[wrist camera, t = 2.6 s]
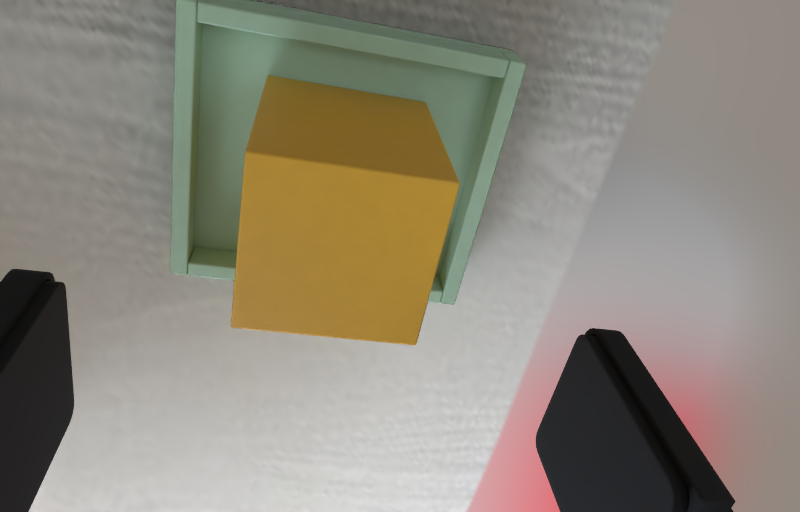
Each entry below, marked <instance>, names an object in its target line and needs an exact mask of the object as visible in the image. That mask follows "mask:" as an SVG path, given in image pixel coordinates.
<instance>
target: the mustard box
mask: <svg viewBox="0 0 800 512" xmlns="http://www.w3.org/2000/svg"><path fill="white" fill-rule="evenodd" d="M459 186H460V182H459V179H458V177H457V175H456V172H455V170H454V168H453V165H452V163H451V160H450V158H449V156H448V153H447V151H446V149H445V146H444V144H443V142H442V139H441V137H440V134H439V132H438V130H437V127H436V125H435V123H434V120H433V118H432V116H431V113H430V111H429V108H428V106H427V104H426V102H422V101H417V100H411V99H405V98H399V97H393V96H387V95H382V94H376V93H370V92H364V91H358V90H352V89H347V88H341V87H335V86H329V85H323V84H317V83H312V82H306V81H300V80H294V79H288V78H282V77H277V76H271V75H268V76H267V79H266V82H265V86H264V89H263V93H262V96H261V99H260V103H259V106H258V110H257V113H256V117H255V120H254V123H253V127H252V130H251V134H250V137H249V141H248V144H247V147H246V151H245V159H244V171H243V183H242V196H241V208H240V220H239V232H238V245H237V257H236V269H235V281H234V294H233V306H232V318H231V327H232V328H240V329H251V330H261V331H271V332H282V333H292V334H303V335H313V336H324V337H334V338H344V339H355V340H365V341H376V342H386V343H397V344H407V345H416V343H417V339H418V336H419V332H420V328H421V325H422V321H423V317H424V314H425V310H426V307H427V303H428V299H429V296H430V292H431V288H432V285H433V281H434V277H435V274H436V270H437V266H438V263H439V259H440V256H441V252H442V248H443V245H444V241H445V237H446V234H447V230H448V226H449V223H450V219H451V215H452V212H453V208H454V205H455V201H456V197H457V194H458V190H459Z"/></svg>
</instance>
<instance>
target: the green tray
mask: <svg viewBox="0 0 800 512" xmlns="http://www.w3.org/2000/svg"><path fill="white" fill-rule="evenodd" d="M525 69H526V63H525V62H524V61H523V60H522V59H521V58H520V57H519V56H518V55H517V54H516V53H515V52H514V51H512V50H508V49H503V48H498V47H492V46H487V45H482V44H477V43H472V42H466V41H461V40H456V39H451V38H446V37H441V36H435V35H430V34H425V33H420V32H415V31H409V30H404V29H399V28H394V27H389V26H383V25H378V24H373V23H368V22H363V21H358V20H352V19H347V18H342V17H337V16H332V15H326V14H321V13H316V12H311V11H306V10H300V9H295V8H290V7H285V6H280V5H274V4H269V3H264V2H259V1H254V0H176V22H175V73H174V124H173V176H172V227H171V273H172V274H179V275H187V274H188V275H189V276H198V277H207V278H216V279H225V280H234V281H235V269H236V257H237V245H238V232H239V220H240V208H241V196H242V183H243V171H244V159H245V151H246V147H247V144H248V141H249V137H250V134H251V130H252V127H253V123H254V120H255V117H256V113H257V110H258V106H259V103H260V99H261V96H262V93H263V89H264V86H265V82H266V79H267V76H268V75H271V76H277V77H282V78H288V79H294V80H300V81H306V82H312V83H317V84H323V85H329V86H335V87H341V88H347V89H352V90H358V91H364V92H370V93H376V94H382V95H387V96H393V97H399V98H405V99H411V100H417V101H422V102H426V104H427V106H428V108H429V111H430V113H431V116H432V118H433V120H434V123H435V125H436V127H437V130H438V132H439V134H440V137H441V139H442V142H443V144H444V146H445V149H446V151H447V153H448V156H449V158H450V160H451V163H452V165H453V168H454V170H455V172H456V175H457V177H458V179H459V182H460V186H459V190H458V194H457V197H456V201H455V205H454V208H453V212H452V215H451V219H450V223H449V226H448V230H447V234H446V237H445V241H444V245H443V248H442V252H441V256H440V259H439V263H438V266H437V270H436V274H435V277H434V281H433V285H432V288H431V292H430V296H429V299H428V302H435V303H440V302H441V303H444V304H455V301H456V297H457V294H458V291H459V287H460V284H461V281H462V278H463V274H464V271H465V268H466V264H467V261H468V258H469V254H470V251H471V248H472V244H473V241H474V238H475V234H476V231H477V228H478V224H479V221H480V218H481V215H482V211H483V208H484V205H485V201H486V198H487V195H488V191H489V188H490V185H491V181H492V178H493V175H494V171H495V168H496V165H497V162H498V158H499V155H500V152H501V148H502V145H503V142H504V138H505V135H506V132H507V128H508V125H509V122H510V118H511V115H512V112H513V108H514V105H515V102H516V99H517V95H518V92H519V89H520V85H521V82H522V79H523V75H524V72H525Z"/></svg>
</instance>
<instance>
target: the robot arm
mask: <svg viewBox="0 0 800 512" xmlns="http://www.w3.org/2000/svg"><path fill="white" fill-rule="evenodd" d="M73 408H74V393H73V379H72V366H71V352H70V339H69V325H68V312H67V298H66V288H65V285H64V283H63V282H55V280H54V277H53V274H52V273H50V272H41V271H32V270H22V269H12V270H10V271H9V272H8V273H7V275H6V276H5V277H4V278H3V280H2V281H1V282H0V512H28V511H29V509H30V507H31V505H32V503H33V501H34V498H35V496H36V494H37V492H38V490H39V488H40V485H41V483H42V481H43V479H44V477H45V475H46V473H47V470H48V468H49V466H50V464H51V462H52V460H53V458H54V455H55V453H56V451H57V449H58V447H59V445H60V443H61V440H62V438H63V436H64V434H65V432H66V430H67V427H68V425H69V423H70V421H71V417H72V414H73ZM536 448H537V451H538V454H539V457H540V459H541V462H542V465H543V467H544V470H545V473H546V475H547V478H548V480H549V483H550V486H551V488H552V491H553V494H554V496H555V499H556V501H557V504H558V506H559V509H560V512H733V510H732V509H731V507H732V506H733V504H734V503H735V500H734V499H733V497H732V496H731V494H730V493H729V491H728V490H727V488H726V487H725V485H724V484H723V482H722V481H721V479H720V478H719V476H718V475H717V473H716V472H715V470H714V469H713V467H712V466H711V465H710V463H709V461H708V460H707V458H706V457H705V456H704V454H703V452H702V451H701V450H700V448H699V446H698V445H697V443H696V442H695V440H694V439H693V438H692V436H691V435H690V433H689V432H688V430H687V429H686V427H685V426H684V424H683V423H682V421H681V420H680V418H679V417H678V415H677V414H676V412H675V411H674V409H673V408H672V406H671V405H670V403H669V402H668V400H667V399H666V397H665V396H664V394H663V393H662V391H661V390H660V388H659V387H658V385H657V384H656V382H655V381H654V379H653V378H652V376H651V375H650V373H649V372H648V370H647V369H646V367H645V366H644V364H643V363H642V361H641V360H640V359H639V357H638V355H637V354H636V352H635V351H634V349H633V348H632V346H631V345H630V344H629V342H628V340H627V339H626V338H625V336H624V335H623V334H622V333H621V332H619V331H615V330H605V329H594V328H592V329H589V330H588V331H587V332H586V333H585V335H580V336H579V337H578V338H577V340H576V342H575V344H574V347H573V349H572V351H571V354H570V356H569V358H568V360H567V363H566V365H565V367H564V370H563V372H562V375H561V377H560V380H559V382H558V384H557V386H556V389H555V391H554V394H553V396H552V398H551V400H550V403H549V405H548V408H547V410H546V412H545V415H544V417H543V419H542V422H541V424H540V427H539V429H538V432H537V435H536Z"/></svg>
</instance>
